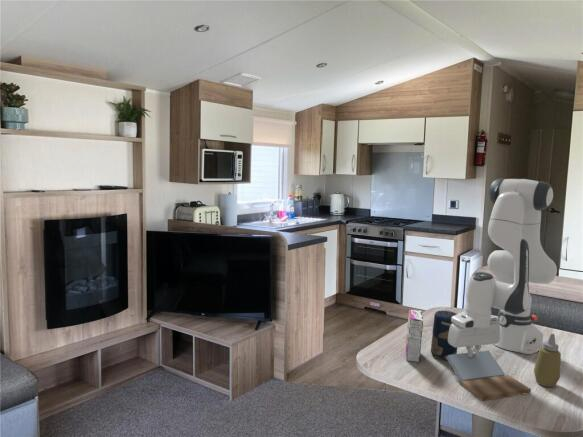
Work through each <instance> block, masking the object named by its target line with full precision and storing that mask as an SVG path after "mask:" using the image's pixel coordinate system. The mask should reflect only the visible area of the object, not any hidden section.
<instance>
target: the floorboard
mask: <svg viewBox="0 0 583 437" xmlns="http://www.w3.org/2000/svg"><path fill="white" fill-rule="evenodd" d="M460 386H461V387H462V388H463V389H464V390H466V391H468V392H469V393H470V394H472V395H473V396H474V397H476V398H477V399H478V400H480V401H489V400H493V399H500V398H506V397H507V398H508V397H514V396H513V395H515V396H519V395H518V394H521V395H524V394H523V393H528V394H530V393H531V391H532V389H531V388H530V387H528V386H527V385H526V384H524V383H523V382H521V381H519V380H517V379H516V378H514V377H512V376H510V375H509V374H505V375H503V376H495V377H488V378H480V379H473V380H466V381H460ZM529 392H530V393H529Z"/></svg>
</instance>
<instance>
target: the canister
mask: <svg viewBox="0 0 583 437" xmlns="http://www.w3.org/2000/svg"><path fill="white" fill-rule="evenodd" d="M457 314H458V313H457V312H453V311H450V310H437V311H436V312H435V313H434V317H433V324H432V335H431V336H432V337H431V343H430V344H431V346H430V353H431V355H433V356H434V357H435V358H437V359H440V360H447V358H446V357H447V356H448V355H453V354H458V347H457V348H455V347H453V346H451V345H450V344H449V343H448V334H449V329H450V326H451V325H452V324H453V323H452V322H451V318H452V317H453V316H455V315H457ZM447 361H448V360H447Z"/></svg>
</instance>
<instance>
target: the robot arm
mask: <svg viewBox="0 0 583 437" xmlns="http://www.w3.org/2000/svg"><path fill="white" fill-rule="evenodd" d="M553 191H554V189H553V186H552V185H551V184H550V183H548V182H546V181H543V180H540V181H538V180H535V179H534V180H533V179H527V178H504V177H503V178H495V180H494V181H492V183H491V184H490V186H489V191H488V198H489V200H490V202H491V203H492V204H493V207H492V211H491V214H490V218H489V221H488V227H487V235H488V237H489V239H490V240H491V241H492V243H493V244H495V245H496V246H498V247H499V248H501V250H497V249H496V250H494V251H492V252H491V253H490V254H489V256H488V258H487V268H488V270H489V272H490V273H489V272H482V271H481V272H480V271H477V272H473V273H472V274H471V275H470V277H469V280H468V283H467V284H468V285H467V287H466V288H467V289H466V294H465V299H466V303H465V306H464V310H463V311H461V312H459V313H456V314H457V315H455V316H453V317H452V318H451V322H452V323H453V324H452V325H451V326H450V329H449V334H448V343H449V344H450V345H451V346H453V347H455V348H457V349H458V348H465V349H466V351H467V353H468V354H467V355H468V356H469V357H477V355H478V352H480V351H481V350H482V346H485V345H486V346H487V345H495V346H496V347H498V348H501V349H503V350H506V351H510V352H515V353H521V354H525V355H531V354H535V353H539V352H538V351H539V349H540V348H542V347H543V343H544V342H545V341H544V335H543V332H542V331H541V330H540V329H539V328H538V327H537V326H535V325H534V323H533V321H535V322H536V321H537V320H538V315H534V314H531V310H532V309H531V308H532V301H533V298H532V295H531V293H530V291H529V290H530V289H529V288H530V287H529V283H532V284H538V285H539V284H541V285H543V284H544V285H545V284H546V285H549V284H550V283H552V282H553V281H554V280H555V279H556V278H557V274H558V269H557V265H556V262H555V261H554V260H553V259H552V258H550V256H548V254H547V253H546V252H545V251H544V248H543V246H542V243H541V222H542V211H544V210H546V209H547V208H549V207H550V206H551V203H552V202H553V198H554V192H553ZM493 275H494V276H493ZM494 277H495V278H496V279H497V280H495V278H494ZM492 308H493V309H497V310H498V316H497V317H492V313H493V312H492Z"/></svg>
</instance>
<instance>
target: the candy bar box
mask: <svg viewBox="0 0 583 437" xmlns="http://www.w3.org/2000/svg"><path fill="white" fill-rule="evenodd" d="M407 318H408V320H407V330H406V339H405V340H406V342H405V354H406V361H407V362H413V363H414V362H415V363H420V359H421V348H422V338H423V325H424V318H423V312H422V310H415V309H409V310H408V317H407Z"/></svg>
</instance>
